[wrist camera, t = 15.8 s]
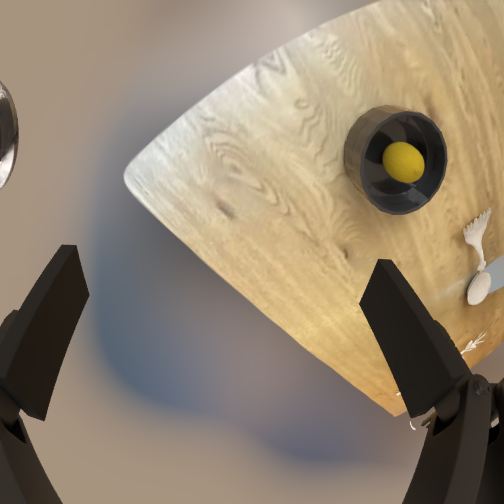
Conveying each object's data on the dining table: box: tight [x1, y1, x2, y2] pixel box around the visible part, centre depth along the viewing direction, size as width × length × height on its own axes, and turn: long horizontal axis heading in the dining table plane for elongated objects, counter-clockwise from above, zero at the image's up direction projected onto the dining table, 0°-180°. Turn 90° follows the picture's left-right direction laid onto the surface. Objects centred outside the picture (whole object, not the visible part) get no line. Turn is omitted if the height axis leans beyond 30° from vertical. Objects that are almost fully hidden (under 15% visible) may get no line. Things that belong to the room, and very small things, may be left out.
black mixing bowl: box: [344, 105, 447, 215], centre depth 36 cm, size 15×15×6 cm
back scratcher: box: [463, 207, 491, 305], centre depth 52 cm, size 9×32×4 cm, turn 36°
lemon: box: [382, 142, 424, 183], centre depth 35 cm, size 6×6×8 cm
